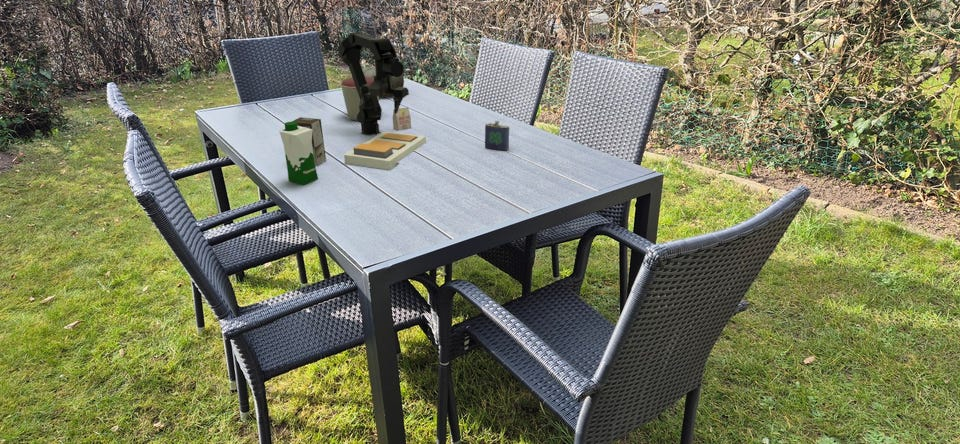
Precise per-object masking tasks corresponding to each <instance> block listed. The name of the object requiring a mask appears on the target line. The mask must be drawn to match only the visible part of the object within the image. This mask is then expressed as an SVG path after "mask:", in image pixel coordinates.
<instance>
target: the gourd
mask: <svg viewBox="0 0 960 444" xmlns="http://www.w3.org/2000/svg"><path fill="white" fill-rule="evenodd" d="M362 70H363V73H364V76H367V77H373V78H374V76H376V70H375V66H373V67H362ZM404 79H405V78H404V75H403V74H402V75H401V76H400V77H394V76H393V77H391V84H392V85H393V88H392V89H396V88H398V87H404V85H405V80H404ZM391 96H393V94H390V93H382V95H381V96H379V98H380V97H381V98H386V97H391Z"/></svg>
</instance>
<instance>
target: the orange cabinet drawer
mask: <svg viewBox="0 0 960 444" xmlns="http://www.w3.org/2000/svg"><path fill="white" fill-rule="evenodd" d="M394 133H395V132H393V133H387V134H385V135H383V136H382V137H381V138H383V139H390V140H398V141H406V142H412V141H413V140H415V139H416V138H417V136H418V135H417V136H410V135H411V134H409V135H402V134H403V133H401V134H394Z"/></svg>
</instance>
